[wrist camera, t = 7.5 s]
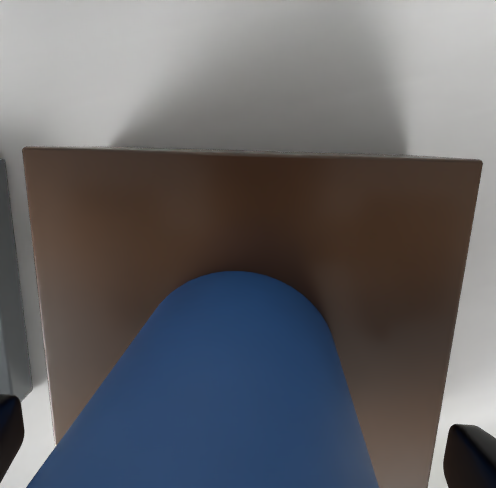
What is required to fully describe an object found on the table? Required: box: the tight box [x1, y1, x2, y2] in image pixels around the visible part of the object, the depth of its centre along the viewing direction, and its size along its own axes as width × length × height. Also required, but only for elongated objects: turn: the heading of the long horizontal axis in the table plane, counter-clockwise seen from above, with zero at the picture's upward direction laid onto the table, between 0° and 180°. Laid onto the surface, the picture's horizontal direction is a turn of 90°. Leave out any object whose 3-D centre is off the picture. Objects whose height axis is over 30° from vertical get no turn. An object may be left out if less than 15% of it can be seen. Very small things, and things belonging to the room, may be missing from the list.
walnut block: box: [22, 146, 483, 488], centre depth 12 cm, size 10×10×4 cm
